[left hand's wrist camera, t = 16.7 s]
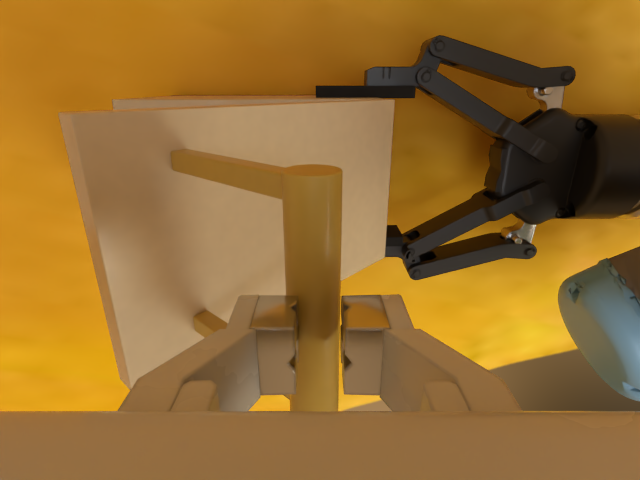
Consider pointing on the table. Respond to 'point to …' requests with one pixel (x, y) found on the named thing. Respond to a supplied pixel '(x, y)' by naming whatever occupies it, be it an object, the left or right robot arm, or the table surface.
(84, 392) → the table surface
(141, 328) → the lid
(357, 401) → the table surface
